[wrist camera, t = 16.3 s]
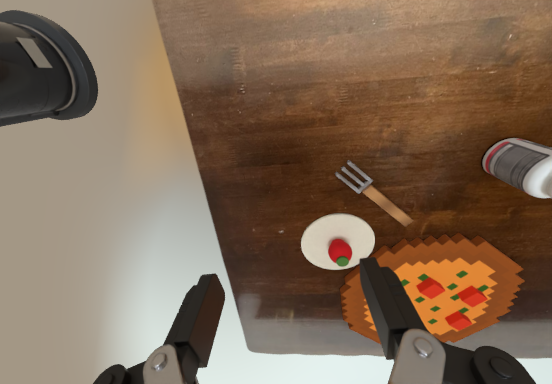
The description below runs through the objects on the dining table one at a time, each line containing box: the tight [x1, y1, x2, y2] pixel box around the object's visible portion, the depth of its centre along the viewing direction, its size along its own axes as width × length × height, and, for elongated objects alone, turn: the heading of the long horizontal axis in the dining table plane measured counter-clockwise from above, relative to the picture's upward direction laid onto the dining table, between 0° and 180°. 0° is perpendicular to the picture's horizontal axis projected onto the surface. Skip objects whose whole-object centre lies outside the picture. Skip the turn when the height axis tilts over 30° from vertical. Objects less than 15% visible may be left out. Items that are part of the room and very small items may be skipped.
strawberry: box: [328, 239, 352, 267], centre depth 38 cm, size 4×4×4 cm
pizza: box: [340, 232, 525, 344], centre depth 44 cm, size 32×32×3 cm
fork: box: [335, 160, 413, 227], centre depth 34 cm, size 15×3×1 cm, turn 53°
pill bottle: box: [482, 138, 552, 198], centre depth 26 cm, size 5×5×10 cm
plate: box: [301, 213, 375, 270], centre depth 40 cm, size 13×13×1 cm
